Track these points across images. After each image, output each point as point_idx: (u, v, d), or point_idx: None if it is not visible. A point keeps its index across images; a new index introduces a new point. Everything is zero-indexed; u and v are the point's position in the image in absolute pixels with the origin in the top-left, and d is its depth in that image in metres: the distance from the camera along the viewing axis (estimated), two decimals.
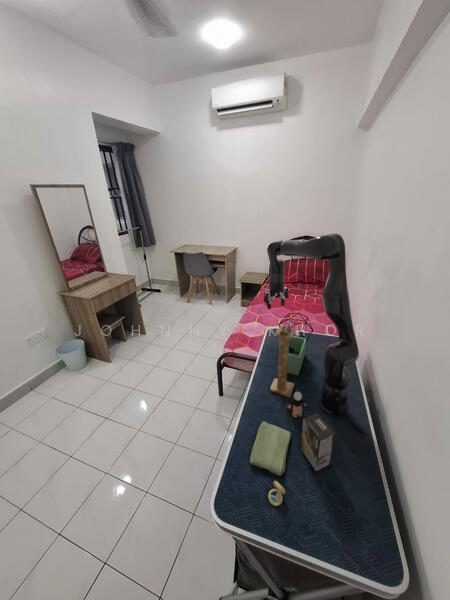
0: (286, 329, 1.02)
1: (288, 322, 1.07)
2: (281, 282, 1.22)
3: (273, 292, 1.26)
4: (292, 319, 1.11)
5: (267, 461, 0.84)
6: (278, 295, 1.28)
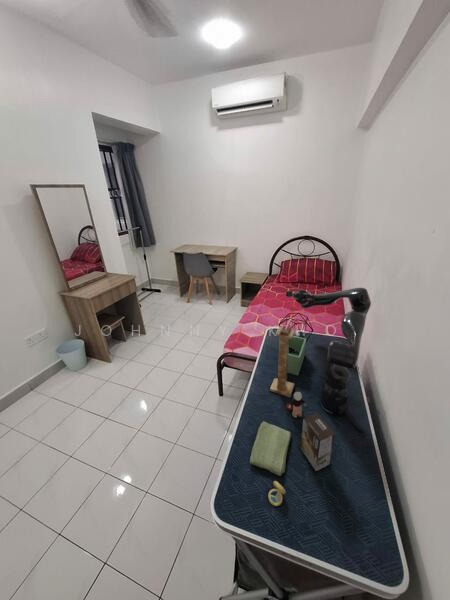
0: (286, 329, 1.02)
1: (288, 322, 1.07)
2: None
3: None
4: (292, 319, 1.11)
5: (267, 461, 0.84)
6: (302, 294, 1.25)
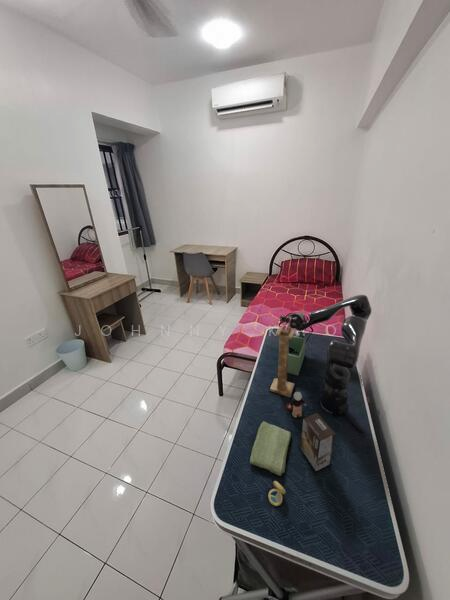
0: (286, 329, 1.02)
1: (288, 322, 1.08)
2: (297, 314, 1.22)
3: None
4: None
5: (267, 461, 0.84)
6: None
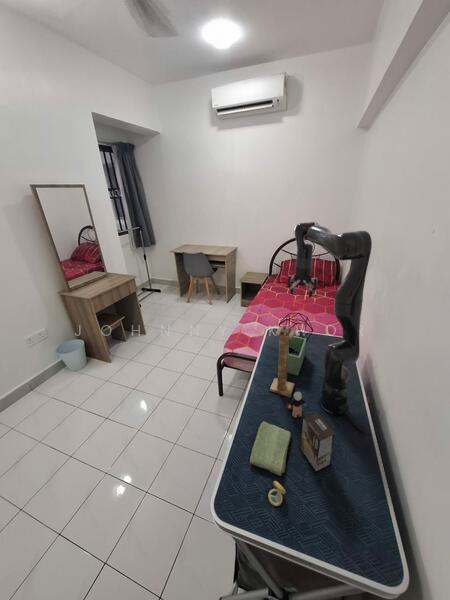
0: None
1: None
2: (302, 268, 1.12)
3: (296, 278, 1.18)
4: (297, 354, 1.37)
5: (267, 461, 0.84)
6: (303, 283, 1.18)
